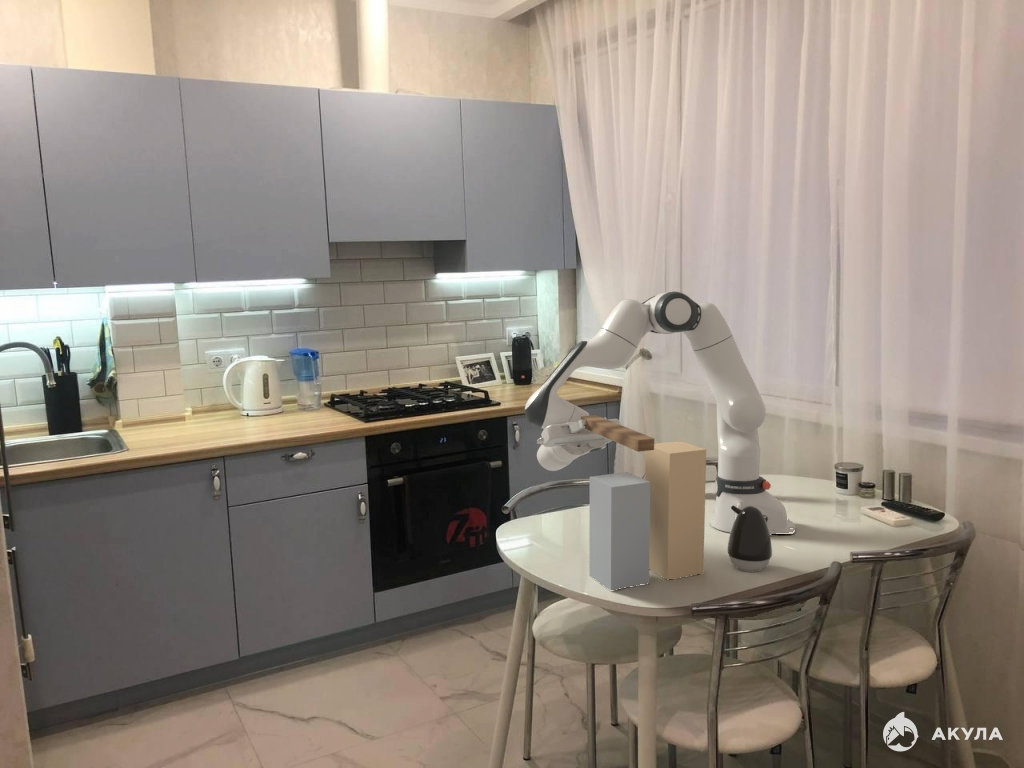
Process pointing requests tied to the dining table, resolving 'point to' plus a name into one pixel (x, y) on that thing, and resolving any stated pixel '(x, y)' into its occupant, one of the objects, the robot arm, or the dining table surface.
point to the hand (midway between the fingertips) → (594, 421)
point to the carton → (676, 508)
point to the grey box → (619, 530)
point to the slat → (619, 433)
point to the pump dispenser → (749, 540)
